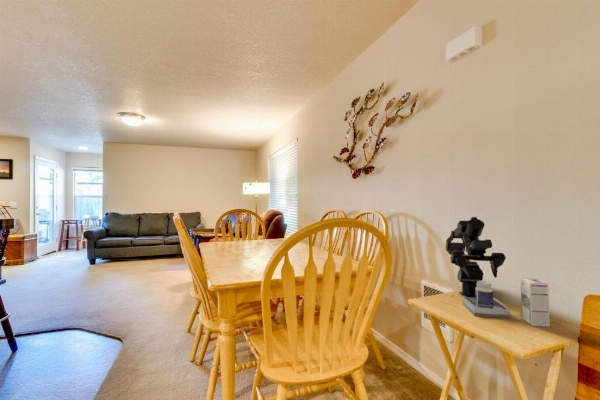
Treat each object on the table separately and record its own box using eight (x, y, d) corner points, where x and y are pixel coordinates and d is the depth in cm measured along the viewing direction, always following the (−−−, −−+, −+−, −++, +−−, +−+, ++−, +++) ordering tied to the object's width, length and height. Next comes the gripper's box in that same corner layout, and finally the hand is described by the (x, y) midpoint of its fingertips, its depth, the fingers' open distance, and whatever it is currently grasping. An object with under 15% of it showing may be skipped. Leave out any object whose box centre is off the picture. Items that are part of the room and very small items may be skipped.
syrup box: (550, 327, 94) (550, 283, 94) (530, 326, 95) (529, 282, 95) (539, 320, 99) (539, 278, 99) (520, 319, 100) (520, 278, 101)
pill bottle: (497, 310, 106) (497, 283, 106) (483, 311, 105) (483, 284, 105) (485, 304, 112) (484, 279, 112) (472, 305, 111) (471, 280, 111)
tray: (462, 304, 115) (462, 295, 115) (493, 306, 113) (493, 297, 113) (474, 315, 104) (474, 306, 104) (509, 318, 101) (509, 308, 101)
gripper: (451, 231, 118) (459, 263, 107) (503, 232, 113) (517, 266, 102) (447, 247, 126) (454, 279, 115) (495, 249, 121) (507, 282, 110)
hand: (482, 276), depth 110 cm, fingers open, 9 cm apart
